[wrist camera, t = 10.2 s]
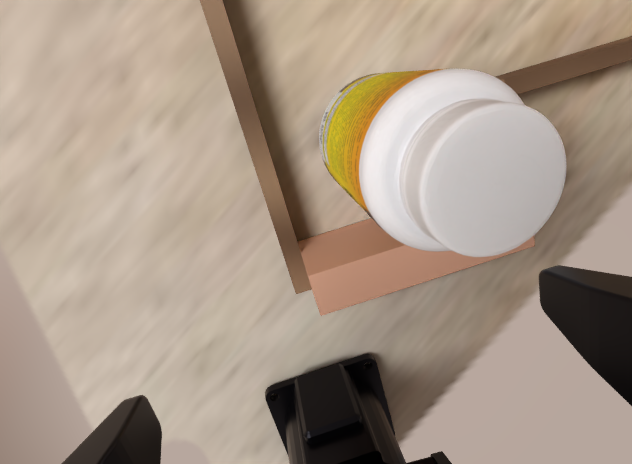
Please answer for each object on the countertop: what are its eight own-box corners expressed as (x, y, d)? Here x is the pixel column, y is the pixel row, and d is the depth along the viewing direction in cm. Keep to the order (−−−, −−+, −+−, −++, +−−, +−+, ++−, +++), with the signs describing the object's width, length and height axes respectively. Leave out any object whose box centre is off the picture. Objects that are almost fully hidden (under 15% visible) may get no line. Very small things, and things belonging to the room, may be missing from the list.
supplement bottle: (303, 179, 20) (359, 268, 10) (334, 58, 18) (432, 31, 9) (409, 203, 21) (543, 300, 12) (445, 91, 20) (636, 99, 10)
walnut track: (655, 164, 23) (682, 169, 21) (292, 280, 22) (296, 294, 20) (673, -269, 16) (713, -302, 15) (155, -139, 15) (147, -161, 14)
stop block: (486, 218, 22) (535, 245, 19) (307, 275, 22) (320, 315, 18) (482, 183, 22) (531, 204, 18) (296, 241, 21) (308, 276, 17)
